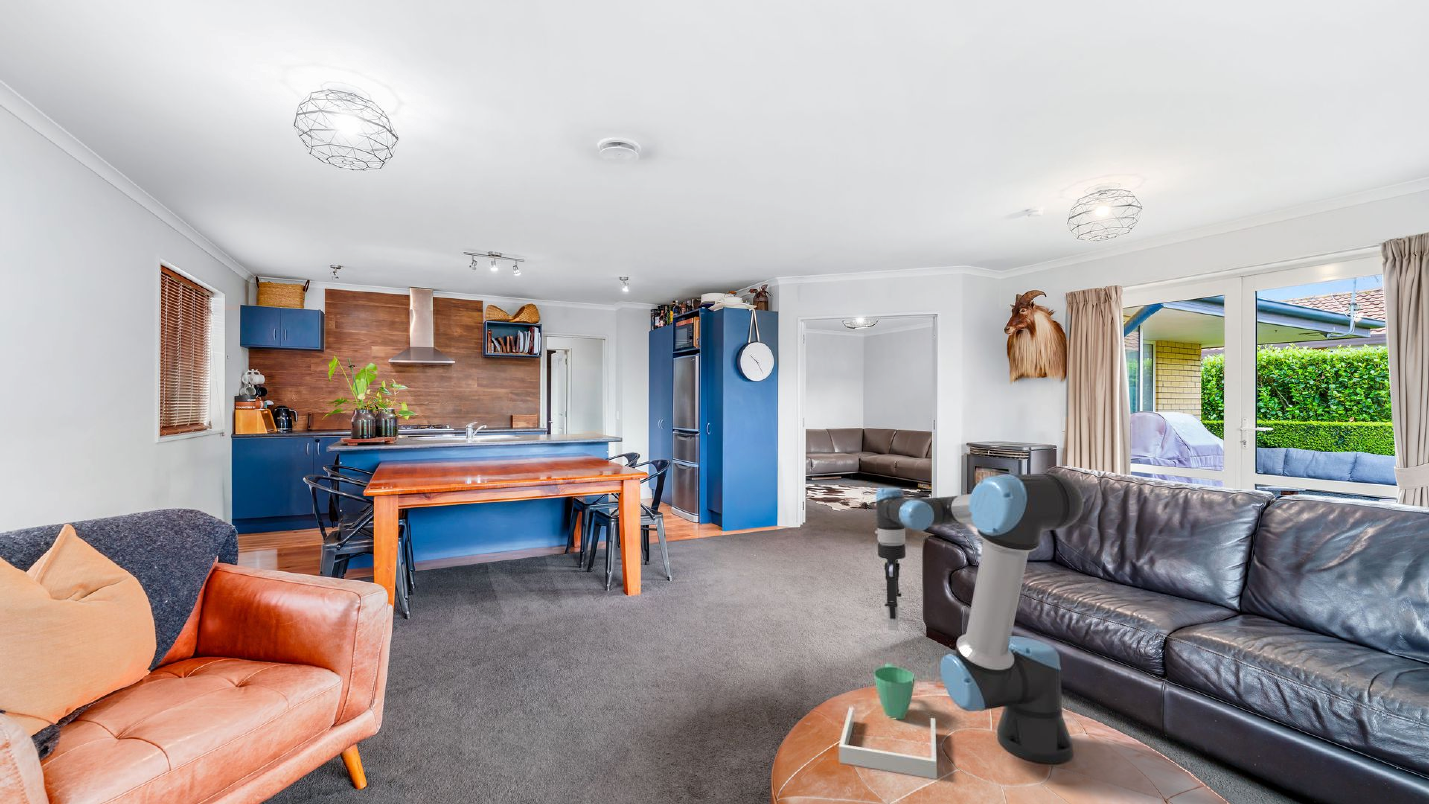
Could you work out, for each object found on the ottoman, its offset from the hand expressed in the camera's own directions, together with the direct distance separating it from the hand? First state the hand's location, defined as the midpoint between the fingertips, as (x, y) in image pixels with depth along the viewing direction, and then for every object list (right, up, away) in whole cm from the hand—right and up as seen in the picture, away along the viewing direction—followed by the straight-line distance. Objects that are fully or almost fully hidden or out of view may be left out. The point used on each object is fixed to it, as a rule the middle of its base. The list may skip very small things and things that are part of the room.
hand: (894, 624), depth 166 cm
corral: (-10, -16, -31) cm, 36 cm away
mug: (-4, -17, -14) cm, 22 cm away
